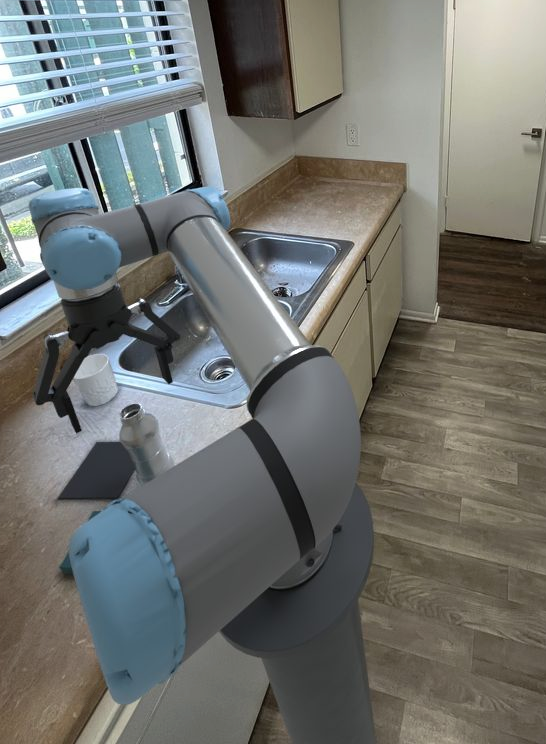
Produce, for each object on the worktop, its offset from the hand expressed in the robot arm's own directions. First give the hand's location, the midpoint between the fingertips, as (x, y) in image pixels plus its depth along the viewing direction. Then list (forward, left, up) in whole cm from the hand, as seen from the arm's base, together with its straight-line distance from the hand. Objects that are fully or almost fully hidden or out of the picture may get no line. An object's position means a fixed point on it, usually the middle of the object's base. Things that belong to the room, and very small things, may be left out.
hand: (125, 402), depth 73 cm
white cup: (+30, -26, -29) cm, 49 cm away
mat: (+17, -7, -28) cm, 34 cm away
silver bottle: (+5, -5, -29) cm, 30 cm away
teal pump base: (+7, +7, -28) cm, 30 cm away
